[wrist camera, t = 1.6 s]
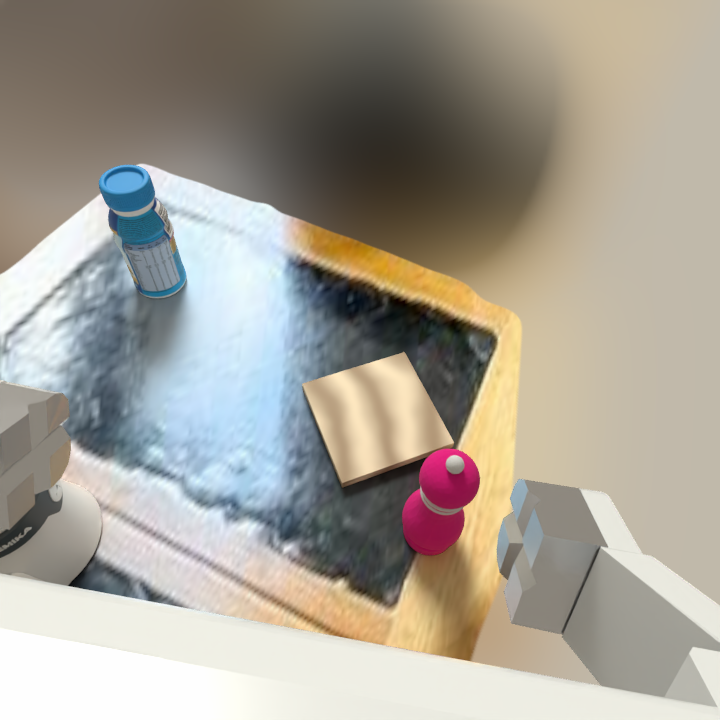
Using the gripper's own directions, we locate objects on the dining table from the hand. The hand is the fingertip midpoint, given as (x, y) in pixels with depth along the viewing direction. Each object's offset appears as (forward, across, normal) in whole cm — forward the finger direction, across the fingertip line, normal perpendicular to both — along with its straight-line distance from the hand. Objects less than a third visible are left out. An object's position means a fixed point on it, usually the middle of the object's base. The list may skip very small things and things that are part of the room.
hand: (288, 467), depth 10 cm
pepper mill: (+48, +13, -38) cm, 63 cm away
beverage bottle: (+78, -34, -23) cm, 88 cm away
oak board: (+60, +4, -31) cm, 68 cm away
